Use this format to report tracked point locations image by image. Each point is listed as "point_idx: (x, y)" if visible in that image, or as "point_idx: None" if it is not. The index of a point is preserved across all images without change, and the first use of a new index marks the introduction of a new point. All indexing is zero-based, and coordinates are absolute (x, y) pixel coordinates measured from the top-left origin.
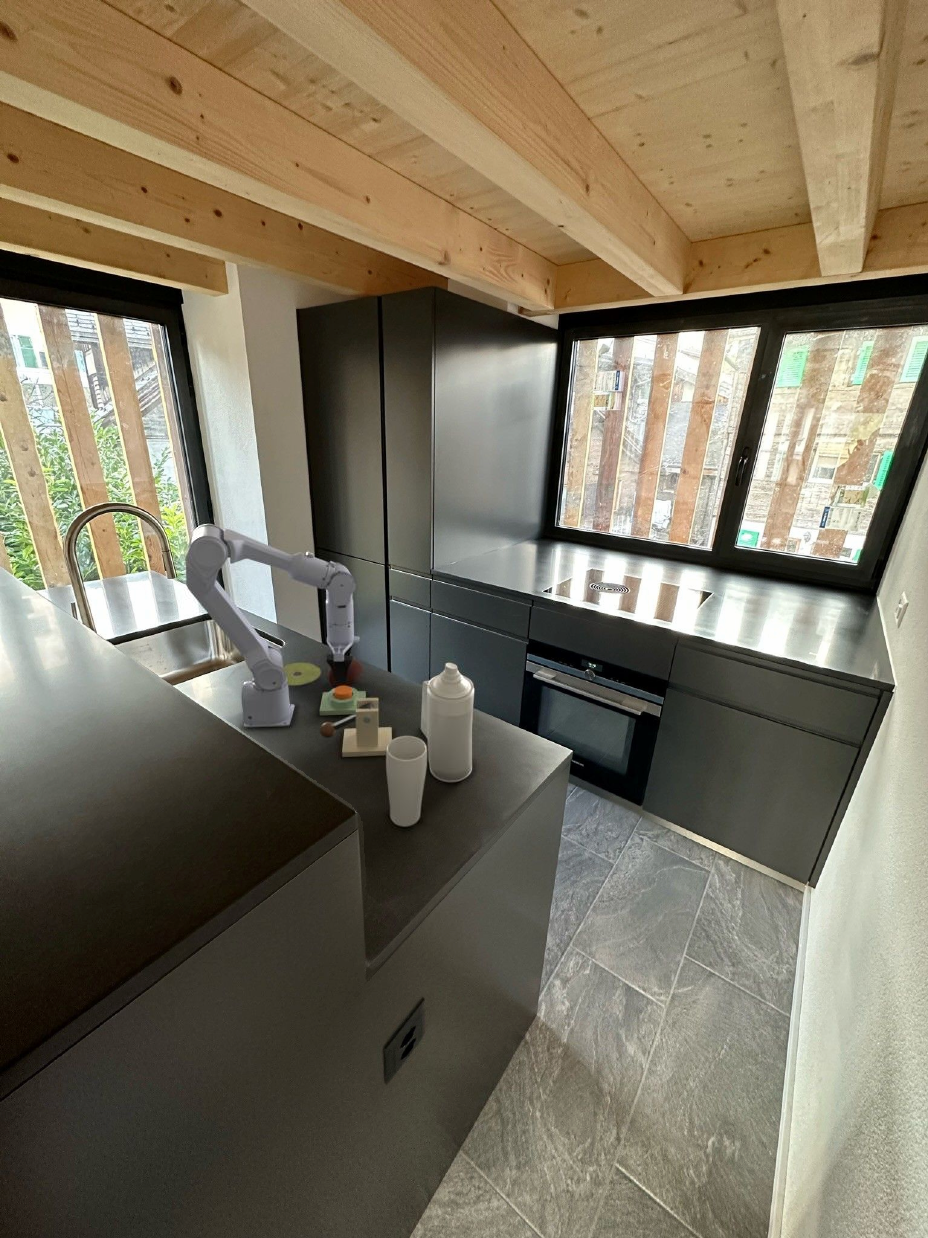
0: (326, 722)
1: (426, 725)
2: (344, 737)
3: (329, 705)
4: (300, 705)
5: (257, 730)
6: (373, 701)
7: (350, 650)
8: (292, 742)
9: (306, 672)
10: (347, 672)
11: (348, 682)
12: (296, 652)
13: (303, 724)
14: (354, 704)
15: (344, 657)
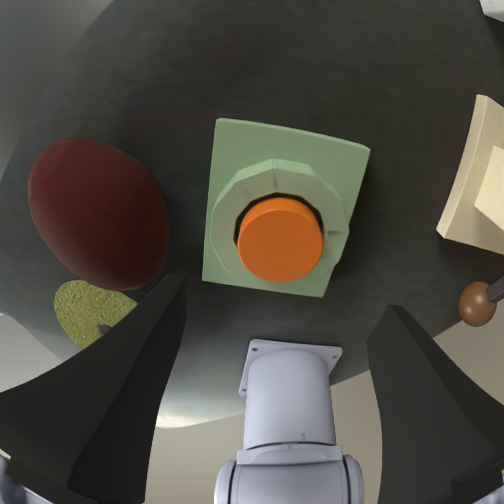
0: (480, 320)
1: None
2: (473, 244)
3: None
4: (248, 325)
5: None
6: None
7: (133, 370)
8: None
9: (97, 314)
10: (453, 362)
11: (161, 198)
12: (14, 301)
13: (346, 321)
14: (331, 185)
15: (488, 478)
